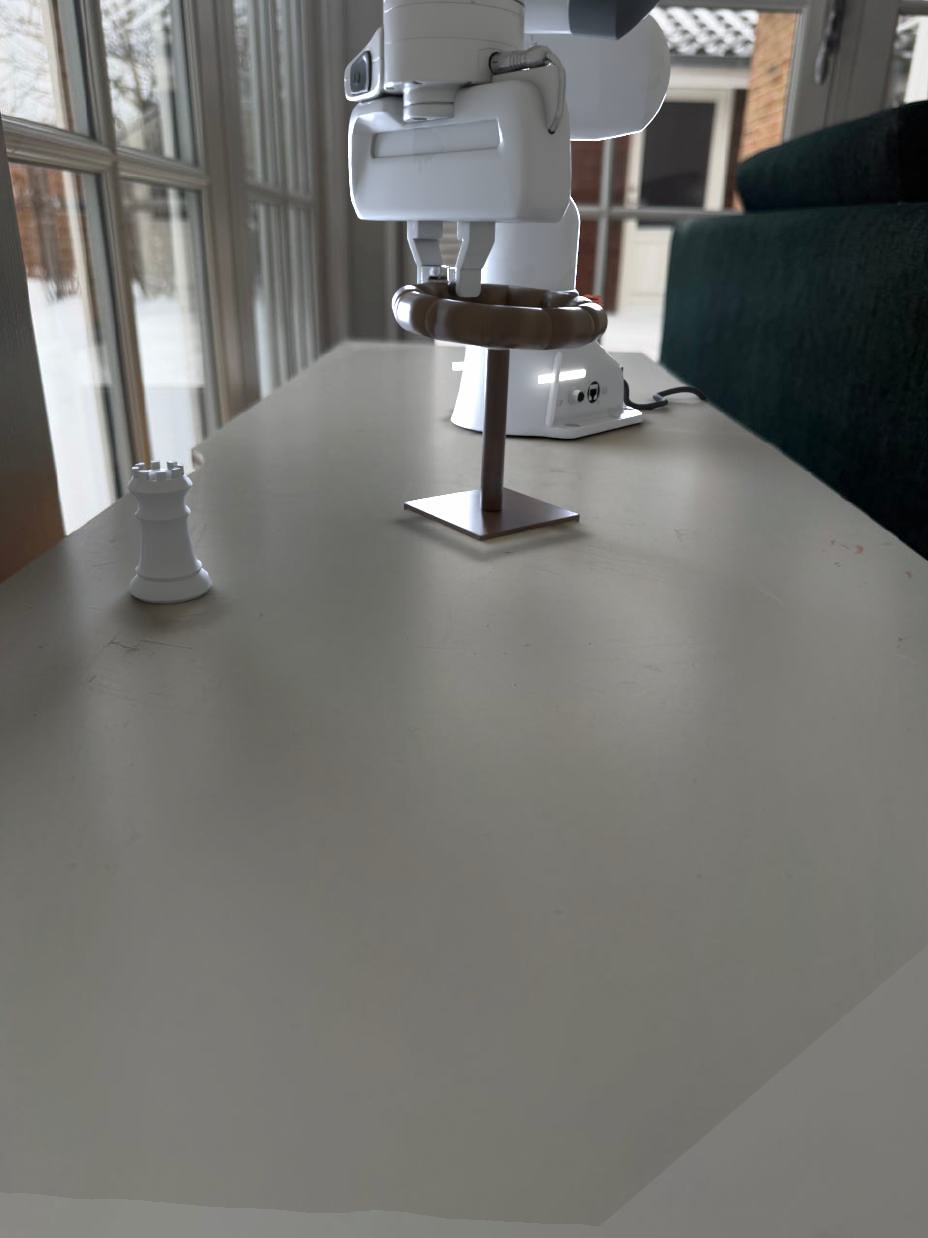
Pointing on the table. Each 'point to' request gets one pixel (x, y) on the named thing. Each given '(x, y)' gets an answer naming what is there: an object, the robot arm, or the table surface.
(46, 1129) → the table surface
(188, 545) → the rook chess piece
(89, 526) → the table surface
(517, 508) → the post
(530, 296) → the ring
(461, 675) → the table surface
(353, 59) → the robot arm
